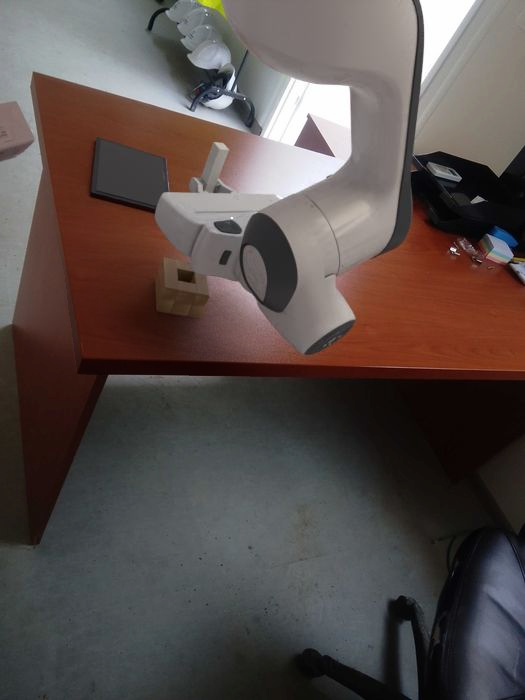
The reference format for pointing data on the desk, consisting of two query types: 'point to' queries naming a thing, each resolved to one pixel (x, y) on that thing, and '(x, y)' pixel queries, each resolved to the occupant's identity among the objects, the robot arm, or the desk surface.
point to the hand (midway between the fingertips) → (203, 182)
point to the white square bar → (214, 165)
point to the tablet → (128, 176)
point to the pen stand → (180, 289)
